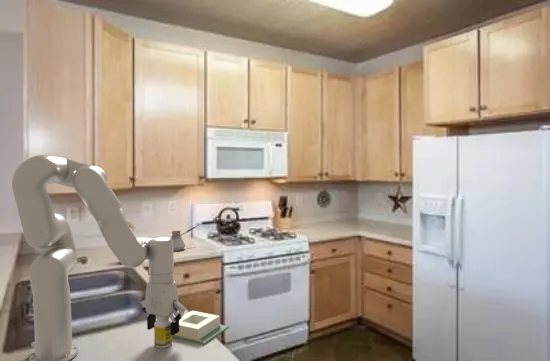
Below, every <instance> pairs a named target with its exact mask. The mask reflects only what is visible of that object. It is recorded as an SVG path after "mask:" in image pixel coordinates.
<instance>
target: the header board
mask: <svg viewBox="0 0 550 361" xmlns="http://www.w3.org/2000/svg"><path fill="white" fill-rule="evenodd" d="M220 318H221V317H220V315H217V314H212V313H207V312H201V311H197V310H191V311H189V312H187V313H184V314H183V317H182V318H181V319H180V320H179V332H178V333H176V334H175V335H172V339H173V338H174V339H177V340H182V341H187V342H190V343H194V344H199V345H203V346H204V345H206V344H208V343H209V342H211V341H212V340H213V339H215V338H216V337H218V336H219V335H221V334H222V333H224V332H225V331H226V330H228V329H229V327H230V326H229V325H225V324H221V319H220Z"/></svg>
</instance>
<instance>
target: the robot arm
mask: <svg viewBox="0 0 550 361" xmlns="http://www.w3.org/2000/svg"><path fill="white" fill-rule="evenodd" d="M49 184H50V185H51V184H52V185H53V184H57V185H60V186H61V185H62V186H65V187H69V188H73V189H74V190H75V192H76V193H77V195H78V196H79V197H80V199H81V201H82V202H83V203H84V205H85V206H86V208H87V210H89V212H90V214H91V215H92V217H93V219H94V220H95V221H96V222H97V225H98V229H99V230H100V233H101V234H102V236H103V238H104V240H105V242H106V244H107V246H108V247H109V250H111V252H112V253H113V254H114V256H115V257H116V259H117V260H118V262H119V263H120V264H121V265H123V267H126V268H129V269H134V268H138V267H140V266H142V264H144V263H145V261H146V260H148V273H147V276H148V280H147V284H146V288H145V299H143V300H142V301H140V304H141V306H142V310H143V312H144V313H145V314H144V316H145V318H146V323H147V325H146V328H147V331H150V330H152V329H154V323H155V321H156V320H157V318H156V315H159V316H164V317H168V316H169V317H170V318H169V319H170V320H171V321H172V322H171V335H175V334H176V333H178V332H179V320H180V319H181V318H182V317H183V315H185V312H186V308H185V306H183V305H182V304H181V303H180V302H179V295H178V288H177V284H176V280H175V265H174V264H175V263H174V262H175V261H174V259H175V258H174V251H173V241H172V239H171V237H168V236H166V237H164V236H161V237H160V236H159V237H155V238H149V237H136V236H135V234H134V233H133V230H132V229H131V228H130V227H129V226H128V224H127V221H128V220H127V219H126V216H125V215H126V214H125V209H124V207H123V204H122V203H121V201H120V200H119V199H118V196H117V195H116V194H115V192H114V191H113V189H112V188H111V187H110V184H108V176H107V173H106V172H105V171H104V170H103V169H102V168H101V167H99V166H96V165H92V164H88V163H84V162H80V161H76V160H72V159H69V158H65V157H61V156H58V155H57V156H56V155H47V154H38V155H33V156H32V157H29V158H27V159H25V160H24V161H23V162H21V163H20V165H18V167H17V168H16V170H15V171H14V173H13V176H12V181H11V187H12V188H11V189H12V193H13V196H14V200H15V203H16V207H17V211H18V216H19V220H20V225H21V227H22V232H23V235H24V236H23V237H24V240H25V241H26V243H27V244H28V246H30V247H31V248H34V249H39V250H41V254H40V255H38V256H36V258H35V259H34V260H33V261H32V263H31V265H30V266H29V267H30V268H29V274H28V275H29V281H30V287H31V291H32V302H33V303H32V304H33V305H32V306H33V308H32V309H33V324H34V325H33V327H34V328H33V329H34V341H32V342H31V345H30V346H31V347H33V348H34V353H32V355H30V357H29V358H28V361H70V360H72V359H73V358H75V357H76V356H77V355H78V354H79V347H78V346H77V345H76V344H73V331H72V330H73V328H72V304H71V291H70V290H71V289H70V284H69V278H68V276H69V275H70V273H71V272H72V271H73V270H74V269H75V268H76V266H77V264H78V254H77V249H76V246H75V242H74V239H73V234H72V230H71V226H70V224H69V221H67V219H66V218H65V217H64V216H63V215H62V214H59V213H55V211H54V208H53V204H52V199H51V197H50V195H49V192H48V190H47V186H48V185H49Z"/></svg>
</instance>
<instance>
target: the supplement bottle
mask: <svg viewBox="0 0 550 361" xmlns="http://www.w3.org/2000/svg"><path fill="white" fill-rule="evenodd" d="M171 322H172V321H171V319H170V317H169V316H168V317H164V316H159V315H156V321H155V323H154V328H153V330H154V332H153V334H154V335H153V336H154V338H153V339H154V347H156V348H159V349H162V348H163V349H164V348H167V347H170V346H172V344H173V337H172V335H171Z"/></svg>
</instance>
